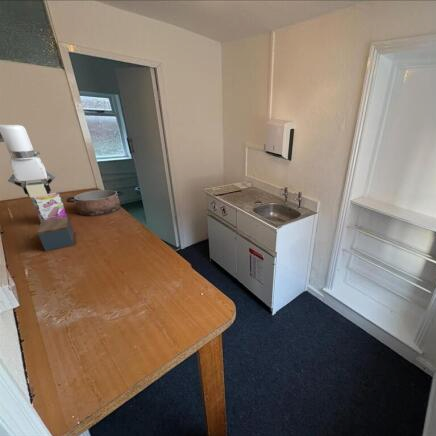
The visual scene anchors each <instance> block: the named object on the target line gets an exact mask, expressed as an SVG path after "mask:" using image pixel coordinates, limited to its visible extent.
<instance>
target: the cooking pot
mask: <svg viewBox="0 0 436 436" xmlns="http://www.w3.org/2000/svg"><path fill="white" fill-rule="evenodd" d="M124 195H125V192H124V191H123V190H119V191H116V190H112V189H100V190H99V189H98V190H91V191H86V192H81V193H78V194H77V195H74V196H71V197H70V196H69V197H67V198H66V202H67V203H75V205H76V208H77V210H78V213H79V214H80V215H81V216H84V217H97V216H103V215H108V214H112V213H114V212H117V211H119V210H120V208H121V202H120V199H119V197H121V196H124ZM119 207H120V208H119Z"/></svg>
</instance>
